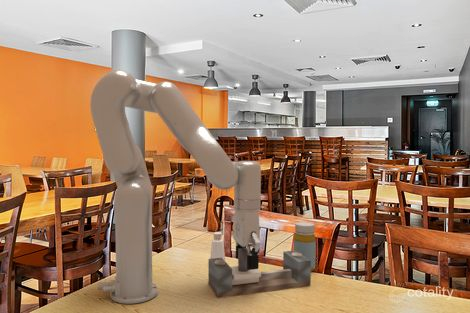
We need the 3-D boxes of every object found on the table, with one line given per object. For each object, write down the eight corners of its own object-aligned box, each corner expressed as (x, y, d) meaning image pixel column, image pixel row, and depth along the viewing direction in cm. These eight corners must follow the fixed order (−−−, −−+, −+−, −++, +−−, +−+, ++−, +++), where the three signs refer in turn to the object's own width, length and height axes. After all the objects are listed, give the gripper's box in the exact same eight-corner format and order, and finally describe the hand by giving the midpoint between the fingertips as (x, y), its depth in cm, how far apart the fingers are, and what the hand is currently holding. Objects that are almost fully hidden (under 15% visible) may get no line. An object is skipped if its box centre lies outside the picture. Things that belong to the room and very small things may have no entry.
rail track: (217, 298, 101) (217, 268, 101) (208, 284, 111) (208, 256, 110) (310, 285, 110) (311, 258, 110) (294, 273, 120) (294, 248, 119)
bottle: (316, 273, 120) (317, 226, 120) (294, 272, 121) (295, 226, 120) (312, 265, 127) (313, 221, 127) (291, 265, 128) (292, 221, 127)
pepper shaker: (209, 262, 130) (209, 230, 129) (225, 262, 130) (225, 230, 130) (209, 267, 124) (209, 234, 124) (225, 267, 125) (226, 234, 124)
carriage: (233, 287, 104) (234, 254, 104) (226, 278, 111) (226, 247, 110) (260, 283, 107) (261, 251, 106) (251, 275, 113) (252, 244, 113)
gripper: (225, 200, 115) (225, 255, 116) (245, 210, 99) (244, 275, 99) (248, 198, 117) (248, 253, 118) (271, 209, 101) (270, 272, 102)
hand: (246, 263), depth 109 cm, fingers open, 9 cm apart
